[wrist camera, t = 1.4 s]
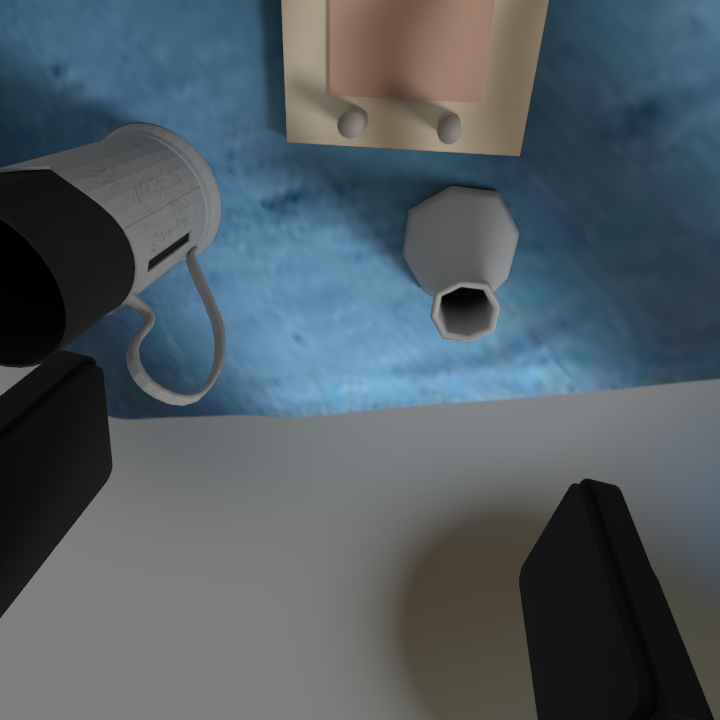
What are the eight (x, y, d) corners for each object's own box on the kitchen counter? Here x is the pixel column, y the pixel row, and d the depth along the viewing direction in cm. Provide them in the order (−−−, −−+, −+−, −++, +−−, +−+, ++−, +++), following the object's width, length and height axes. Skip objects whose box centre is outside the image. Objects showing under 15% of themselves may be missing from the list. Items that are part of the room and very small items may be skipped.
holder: (132, 89, 30) (-97, 119, 17) (311, 258, 34) (232, 384, 21) (69, 195, 34) (-155, 283, 21) (235, 335, 38) (130, 480, 25)
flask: (523, 286, 33) (551, 369, 24) (412, 303, 35) (402, 386, 26) (514, 171, 29) (543, 221, 21) (391, 196, 31) (372, 252, 23)
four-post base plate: (575, -170, 22) (599, -209, 19) (517, 152, 29) (526, 166, 25) (281, -168, 23) (254, -205, 20) (292, 139, 30) (273, 150, 27)
